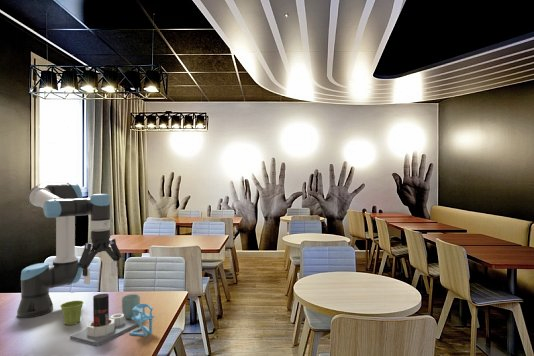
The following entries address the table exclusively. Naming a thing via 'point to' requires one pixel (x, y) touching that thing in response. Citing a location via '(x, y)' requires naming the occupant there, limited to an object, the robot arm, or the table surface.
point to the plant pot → (72, 312)
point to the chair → (142, 320)
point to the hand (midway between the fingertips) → (101, 279)
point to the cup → (130, 305)
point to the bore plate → (103, 338)
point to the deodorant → (101, 310)
